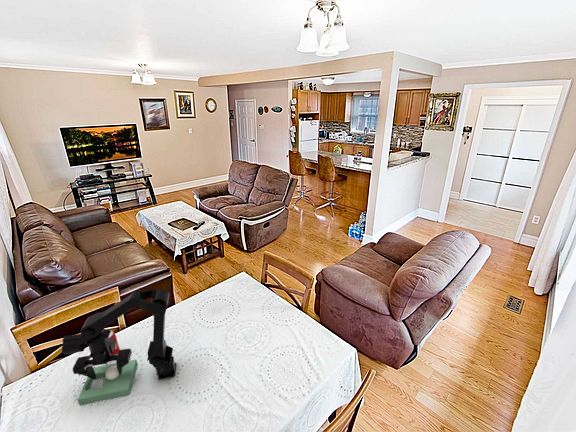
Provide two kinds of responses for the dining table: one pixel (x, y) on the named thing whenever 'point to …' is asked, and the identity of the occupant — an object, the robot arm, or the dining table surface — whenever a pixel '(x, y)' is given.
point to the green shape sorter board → (109, 384)
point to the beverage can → (116, 347)
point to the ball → (112, 373)
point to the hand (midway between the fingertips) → (108, 376)
